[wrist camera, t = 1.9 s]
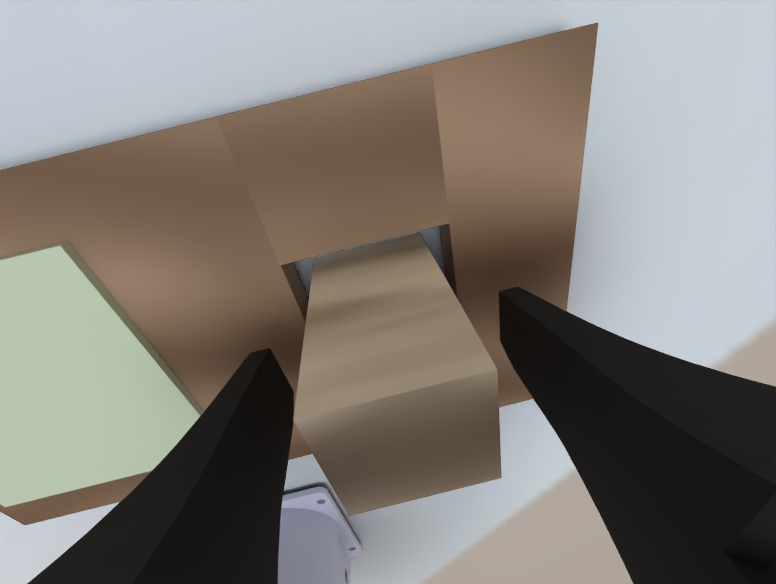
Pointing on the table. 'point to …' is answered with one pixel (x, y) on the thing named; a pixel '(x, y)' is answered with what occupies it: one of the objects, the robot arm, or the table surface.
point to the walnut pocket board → (319, 210)
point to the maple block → (394, 379)
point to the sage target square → (77, 382)
